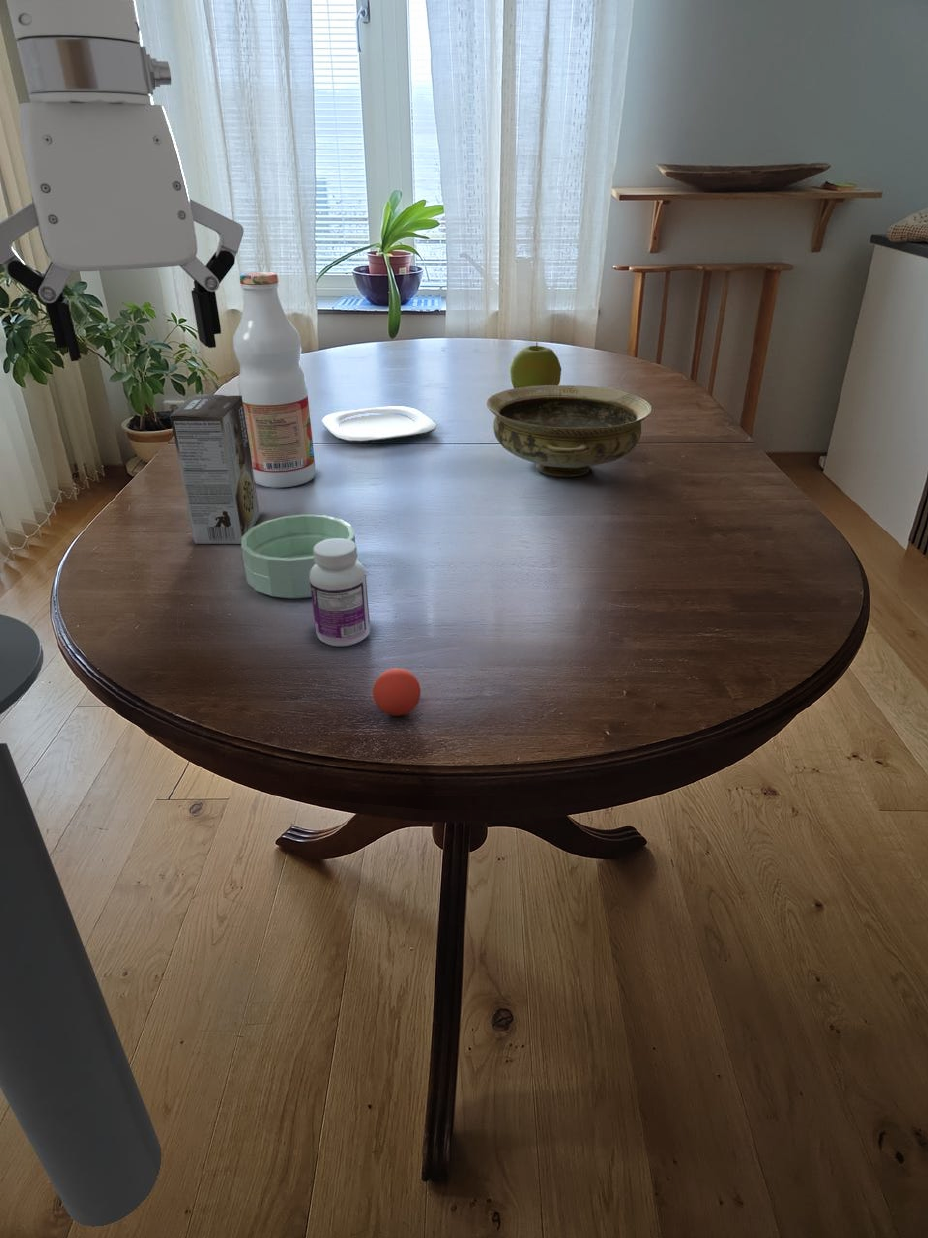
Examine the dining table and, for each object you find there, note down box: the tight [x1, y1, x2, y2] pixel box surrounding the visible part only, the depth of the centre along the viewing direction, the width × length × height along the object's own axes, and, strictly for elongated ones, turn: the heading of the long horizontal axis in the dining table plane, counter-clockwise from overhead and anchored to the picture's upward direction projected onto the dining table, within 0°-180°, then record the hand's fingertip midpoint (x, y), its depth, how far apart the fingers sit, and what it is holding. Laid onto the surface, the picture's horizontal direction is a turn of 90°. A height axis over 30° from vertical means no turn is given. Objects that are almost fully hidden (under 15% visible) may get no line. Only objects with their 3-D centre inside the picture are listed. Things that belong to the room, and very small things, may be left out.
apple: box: [509, 341, 562, 389], centre depth 151 cm, size 10×10×11 cm
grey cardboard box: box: [169, 394, 261, 545], centre depth 97 cm, size 9×6×16 cm
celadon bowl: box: [240, 513, 356, 599], centre depth 88 cm, size 12×12×5 cm
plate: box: [321, 405, 437, 444], centre depth 137 cm, size 18×18×2 cm
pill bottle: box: [309, 538, 371, 647], centre depth 76 cm, size 5×5×10 cm
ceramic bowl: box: [486, 384, 653, 478], centre depth 117 cm, size 30×24×10 cm
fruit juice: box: [232, 271, 316, 489], centre depth 110 cm, size 9×9×28 cm
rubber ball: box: [372, 667, 421, 717], centre depth 66 cm, size 4×4×4 cm
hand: (143, 350), depth 60 cm, fingers open, 9 cm apart
